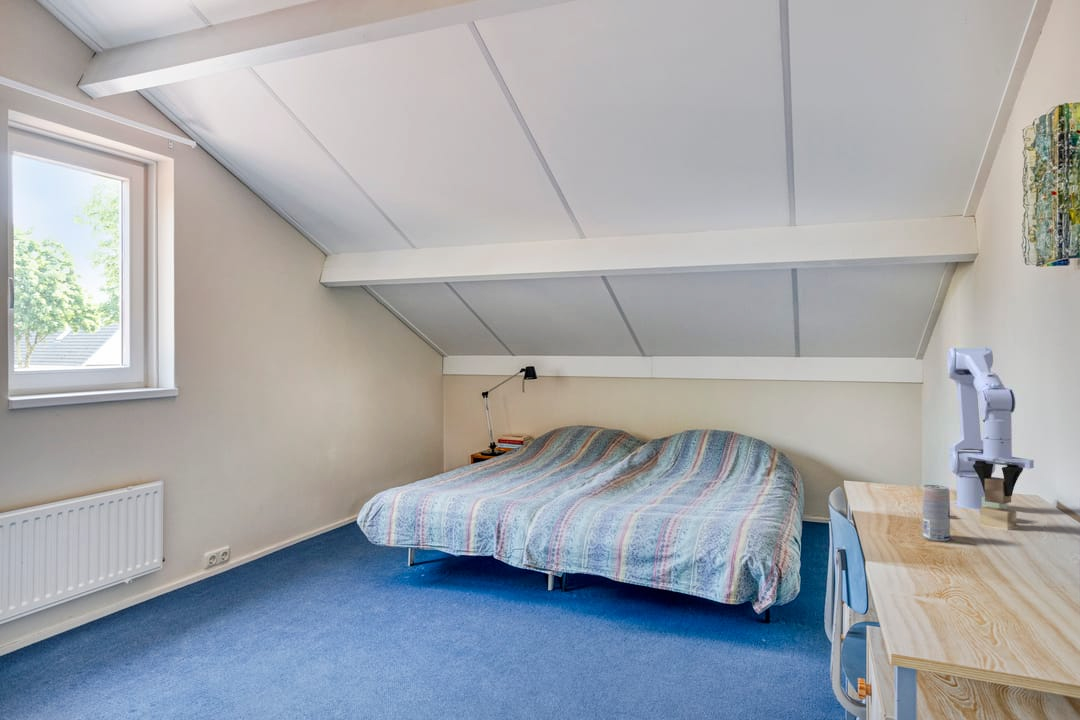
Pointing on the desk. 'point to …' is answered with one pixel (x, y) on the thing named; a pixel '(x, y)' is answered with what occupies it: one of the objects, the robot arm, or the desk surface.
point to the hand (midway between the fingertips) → (997, 494)
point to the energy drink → (936, 513)
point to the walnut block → (995, 491)
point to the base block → (998, 517)
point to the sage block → (992, 504)
